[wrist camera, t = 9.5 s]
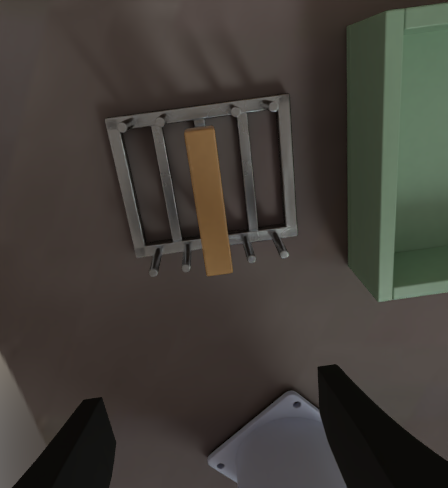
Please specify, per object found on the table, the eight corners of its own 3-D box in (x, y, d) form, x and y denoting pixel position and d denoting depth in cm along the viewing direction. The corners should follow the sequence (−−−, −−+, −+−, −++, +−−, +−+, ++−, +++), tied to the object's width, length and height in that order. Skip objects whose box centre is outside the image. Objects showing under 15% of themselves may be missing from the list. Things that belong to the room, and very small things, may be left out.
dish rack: (287, 93, 18) (317, 95, 14) (295, 232, 21) (323, 274, 16) (106, 117, 18) (74, 128, 14) (137, 253, 21) (120, 302, 16)
